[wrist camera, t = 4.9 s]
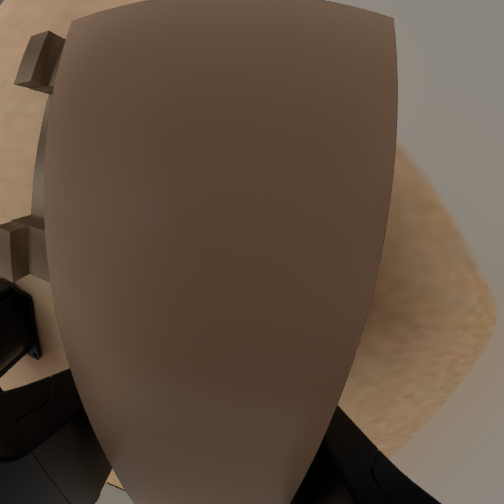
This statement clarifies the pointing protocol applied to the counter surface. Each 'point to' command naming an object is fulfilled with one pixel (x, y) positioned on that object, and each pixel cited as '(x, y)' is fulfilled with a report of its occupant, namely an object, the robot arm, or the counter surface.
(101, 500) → the milk carton
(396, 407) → the counter surface
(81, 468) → the robot arm
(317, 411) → the clay bar
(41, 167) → the bracket
